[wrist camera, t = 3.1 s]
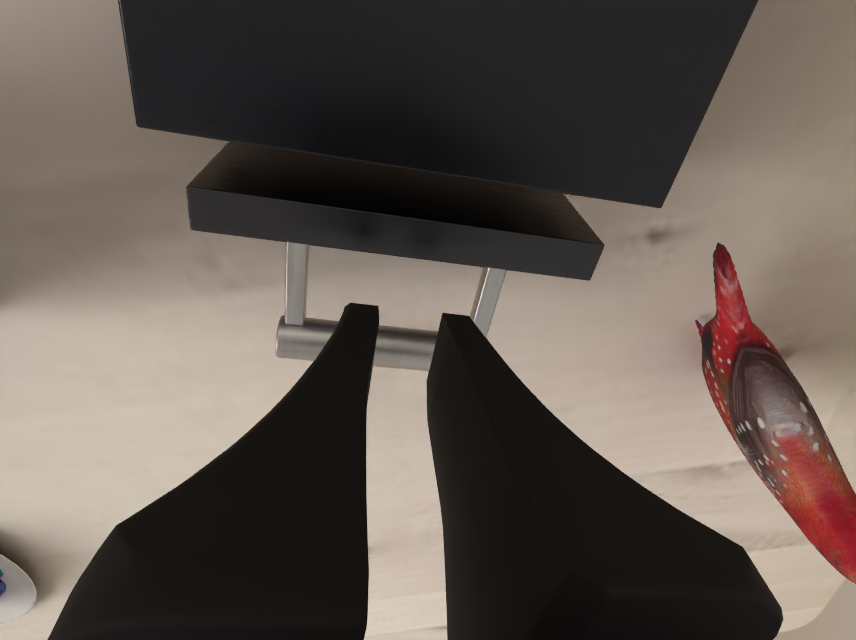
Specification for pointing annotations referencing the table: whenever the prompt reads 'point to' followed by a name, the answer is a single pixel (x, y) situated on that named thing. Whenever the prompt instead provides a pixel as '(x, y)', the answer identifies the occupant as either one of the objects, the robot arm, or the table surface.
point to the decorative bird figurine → (776, 423)
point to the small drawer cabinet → (444, 83)
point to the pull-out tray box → (386, 231)
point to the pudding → (14, 591)
